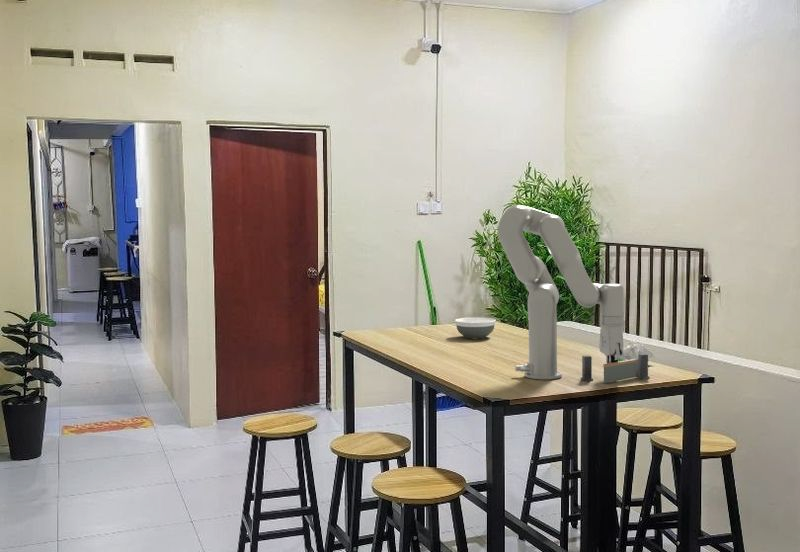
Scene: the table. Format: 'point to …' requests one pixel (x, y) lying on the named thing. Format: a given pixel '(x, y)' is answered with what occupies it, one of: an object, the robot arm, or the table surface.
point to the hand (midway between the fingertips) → (612, 374)
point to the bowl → (475, 326)
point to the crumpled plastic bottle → (635, 352)
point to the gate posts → (588, 367)
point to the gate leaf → (621, 370)
